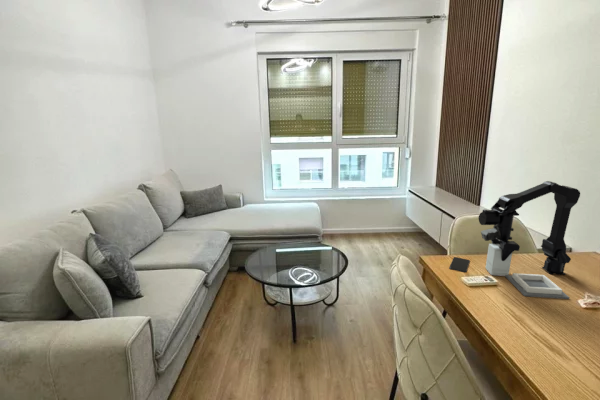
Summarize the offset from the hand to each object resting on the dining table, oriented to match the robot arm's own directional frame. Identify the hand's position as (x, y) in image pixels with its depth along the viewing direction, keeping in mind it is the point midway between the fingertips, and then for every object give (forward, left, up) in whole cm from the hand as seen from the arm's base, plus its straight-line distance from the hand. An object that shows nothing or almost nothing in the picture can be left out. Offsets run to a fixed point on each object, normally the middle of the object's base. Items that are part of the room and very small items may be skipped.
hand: (498, 257), depth 143 cm
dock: (-10, +12, -8) cm, 17 cm away
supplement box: (0, 0, -8) cm, 8 cm away
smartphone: (+14, -6, -8) cm, 17 cm away
